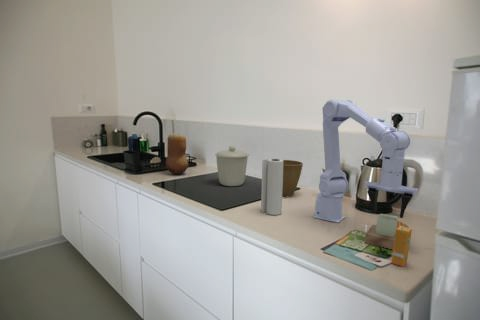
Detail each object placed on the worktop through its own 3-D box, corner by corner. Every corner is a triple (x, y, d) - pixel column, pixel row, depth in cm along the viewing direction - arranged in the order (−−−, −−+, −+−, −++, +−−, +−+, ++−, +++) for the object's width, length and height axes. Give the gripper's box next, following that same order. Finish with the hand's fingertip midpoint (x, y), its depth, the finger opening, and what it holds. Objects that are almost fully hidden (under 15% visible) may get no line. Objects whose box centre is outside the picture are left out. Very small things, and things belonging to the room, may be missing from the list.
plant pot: (279, 200, 142) (280, 165, 139) (264, 192, 156) (265, 160, 153) (307, 197, 147) (309, 163, 145) (290, 189, 161) (292, 159, 159)
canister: (250, 181, 178) (251, 144, 175) (245, 189, 161) (246, 148, 157) (219, 179, 181) (219, 143, 178) (211, 187, 164) (211, 147, 160)
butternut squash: (192, 173, 198) (192, 133, 194) (180, 177, 186) (179, 135, 182) (174, 171, 203) (173, 132, 199) (161, 175, 191) (160, 133, 187)
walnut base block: (364, 243, 98) (365, 233, 97) (372, 233, 106) (372, 224, 105) (400, 251, 92) (401, 242, 92) (405, 240, 100) (406, 231, 100)
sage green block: (375, 233, 98) (377, 217, 97) (379, 228, 102) (380, 213, 101) (393, 237, 95) (394, 221, 94) (396, 232, 99) (397, 216, 98)
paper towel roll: (284, 213, 125) (286, 159, 121) (275, 216, 121) (277, 161, 117) (270, 208, 130) (272, 157, 126) (260, 212, 126) (262, 159, 122)
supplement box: (404, 267, 83) (408, 231, 81) (390, 263, 85) (394, 228, 83) (408, 263, 85) (412, 228, 84) (394, 259, 87) (398, 224, 86)
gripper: (363, 170, 96) (360, 213, 98) (417, 176, 88) (412, 223, 90) (369, 167, 102) (365, 207, 104) (420, 172, 94) (415, 216, 96)
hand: (387, 214), depth 98 cm, fingers open, 7 cm apart
